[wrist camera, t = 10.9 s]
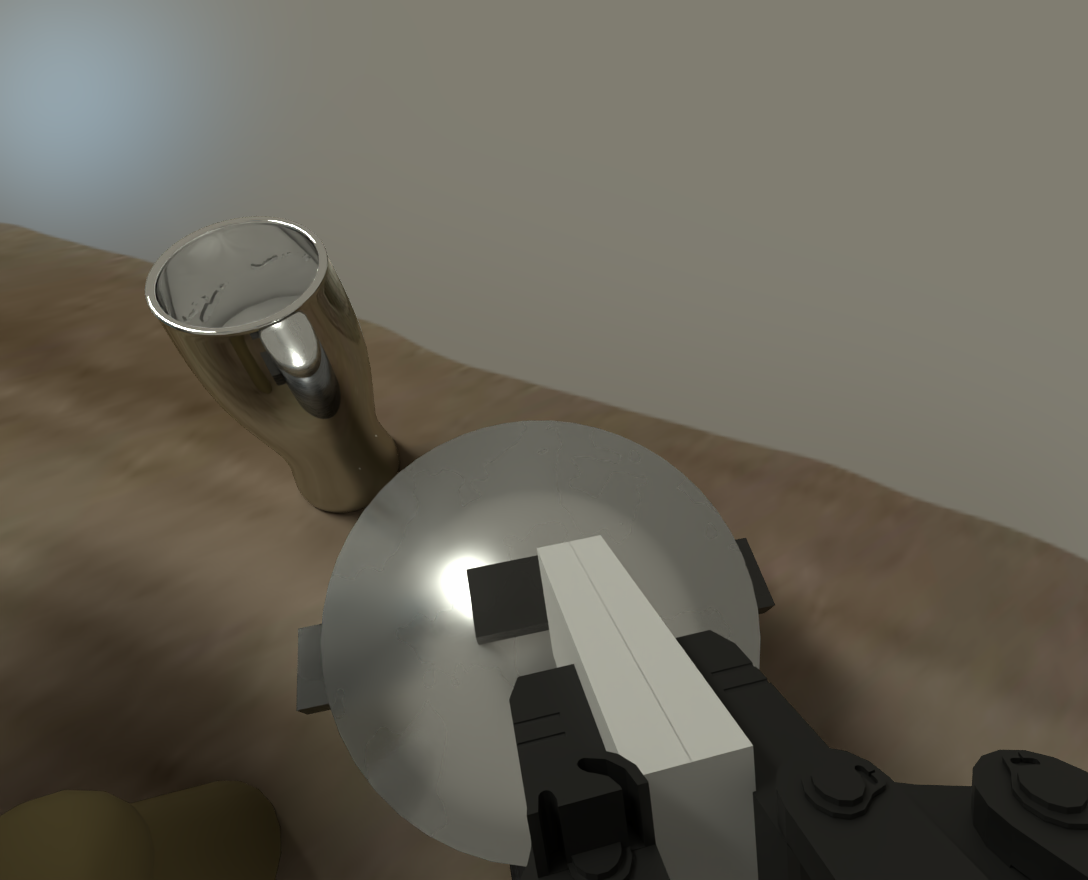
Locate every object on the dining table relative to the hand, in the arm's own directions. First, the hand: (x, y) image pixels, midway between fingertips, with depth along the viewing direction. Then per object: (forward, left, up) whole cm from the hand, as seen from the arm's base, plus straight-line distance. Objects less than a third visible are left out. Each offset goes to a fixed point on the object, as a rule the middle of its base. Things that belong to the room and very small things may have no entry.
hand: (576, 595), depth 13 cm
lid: (-1, +2, -9) cm, 9 cm away
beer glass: (-15, +9, -17) cm, 24 cm away
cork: (-12, -10, -17) cm, 23 cm away
